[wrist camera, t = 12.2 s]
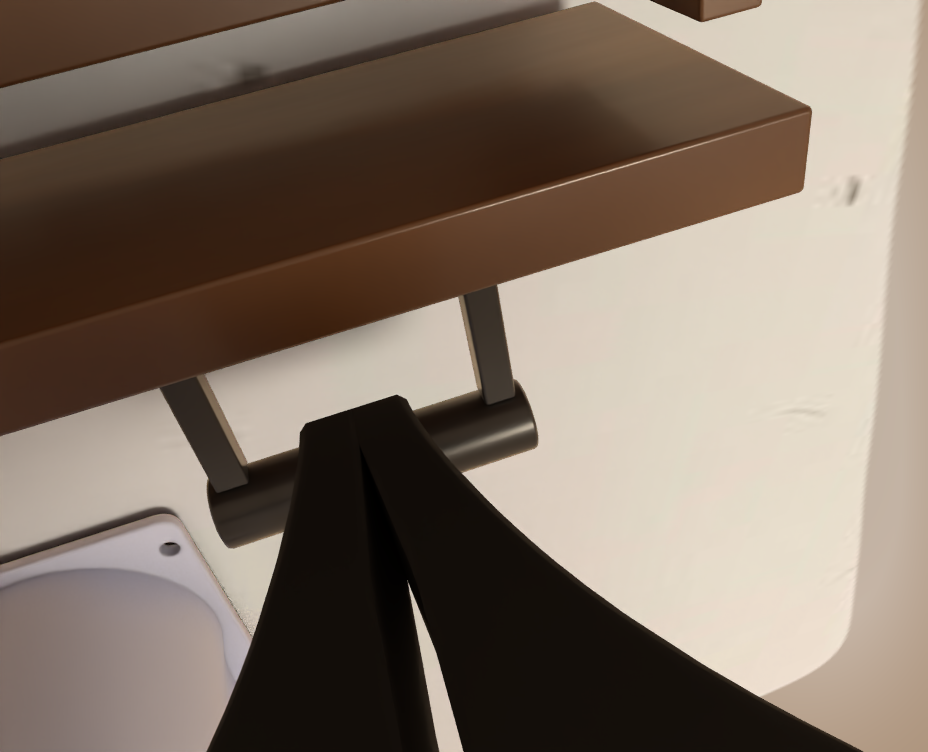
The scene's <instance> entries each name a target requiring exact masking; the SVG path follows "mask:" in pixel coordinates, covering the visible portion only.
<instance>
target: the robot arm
mask: <svg viewBox="0 0 928 752" xmlns="http://www.w3.org/2000/svg"><path fill="white" fill-rule="evenodd" d="M168 542H174V543H176V544H174V545H165V544H164V543H168ZM407 580H408V581H407ZM408 583H409V585H410V588H411V590H412V593H413V595H414V598H415V600H416V603H417V605H418V608H419V610H420V613H421V615H422V618H423V620H424V623H425V625H426V628H427V630H428V633H429V635H430V638H431V640H432V643H433V645H434V648H435V650H436V653H437V657H438V660H439V664H440V668H441V671H442V675H443V678H444V682H445V686H446V689H447V693H448V697H449V700H450V704H451V707H452V711H453V715H454V718H455V722H456V726H457V729H458V733H459V737H460V740H461V744H462V748H463V751H464V752H863V751H861V750H859V749H857V748H855V747H853V746H852V745H850V744H848V743H846V742H844V741H842V740H840V739H838V738H836V737H834V736H832V735H830V734H828V733H826V732H824V731H822V730H820V729H818V728H816V727H814V726H812V725H810V724H808V723H806V722H805V721H802V720H801V719H799V718H797V717H795V716H793V715H792V714H790V713H788V712H786V711H784V710H782V709H780V708H779V707H777V706H775V705H773V704H771V703H769V702H767V701H765V700H764V699H762V698H760V697H758V696H756V695H755V694H753V693H751V692H750V691H748V690H746V689H744V688H743V687H741V686H739V685H738V684H736V683H734V682H732V681H731V680H729V679H727V678H725V677H724V676H722V675H720V674H719V673H717V672H715V671H713V670H712V669H710V668H708V667H707V666H705V665H703V664H701V663H700V662H698V661H697V660H695V659H694V658H692V657H691V656H689V655H688V654H686V653H684V652H683V651H681V650H680V649H678V648H677V647H675V646H674V645H672V644H671V643H669V642H667V641H666V640H664V639H663V638H661V637H660V636H658V635H657V634H655V633H654V632H652V631H650V630H649V629H647V628H646V627H644V626H643V625H641V624H640V623H638V622H636V621H635V620H633V619H632V618H630V617H629V616H627V615H626V614H624V613H623V612H622V611H620V610H619V609H617V608H616V607H615V606H613V605H612V604H611V603H609V602H608V601H606V600H605V599H604V598H602V597H601V596H600V595H598V594H597V593H596V592H594V591H593V590H591V589H590V588H589V587H587V586H586V585H585V584H583V583H582V582H581V581H580V580H578V579H577V578H576V577H574V576H573V575H572V574H571V573H569V572H568V571H567V570H566V569H564V568H563V567H562V566H560V565H559V564H558V563H557V562H555V561H554V560H553V559H552V558H551V557H549V556H548V555H547V554H546V553H545V552H543V551H542V550H541V549H540V548H539V547H538V546H536V545H535V544H534V543H533V542H532V541H531V540H530V539H528V538H527V537H526V536H525V535H524V534H523V533H522V532H521V531H520V530H518V529H517V528H516V527H515V526H514V525H513V524H512V523H511V522H510V521H509V520H508V519H506V518H505V517H504V516H503V515H502V514H501V513H500V512H499V511H498V510H497V509H496V508H495V507H494V506H493V505H492V504H491V503H490V502H489V501H488V500H487V499H486V498H485V497H484V496H483V495H482V494H481V493H480V492H479V491H478V490H477V489H476V488H475V487H474V486H473V485H472V484H471V483H470V481H469V480H468V479H467V478H466V477H465V476H464V475H463V474H462V473H461V472H460V471H459V470H458V469H457V468H456V467H455V465H454V464H453V463H452V462H451V461H450V460H449V459H448V457H447V456H446V455H445V454H444V453H443V451H442V450H441V449H440V448H439V446H438V445H437V444H436V443H435V442H434V440H433V439H432V438H431V437H430V435H429V434H428V433H427V431H426V430H425V429H424V427H423V426H422V424H421V423H420V421H419V420H418V418H417V417H416V415H415V414H414V412H413V410H412V409H411V407H410V405H409V403H408V401H407V399H405V398H403V397H401V396H398V395H394V396H391V397H388V398H385V399H381V400H378V401H375V402H372V403H369V404H366V405H362V406H359V407H356V408H353V409H350V410H347V411H343V412H340V413H337V414H334V415H331V416H328V417H324V418H321V419H318V420H315V421H312V422H309V423H306V424H305V426H304V427H303V429H302V430H301V432H300V443H299V454H298V462H297V469H296V476H295V482H294V487H293V492H292V498H291V503H290V508H289V512H288V517H287V521H286V525H285V529H284V533H283V538H282V542H281V546H280V550H279V554H278V558H277V562H276V565H275V569H274V572H273V576H272V579H271V582H270V585H269V589H268V592H267V595H266V598H265V602H264V605H263V608H262V611H261V615H260V618H259V621H258V624H257V627H256V630H255V633H254V636H253V639H252V637H251V635H250V634H249V632H248V630H247V629H246V627H245V625H244V624H243V622H242V621H241V619H240V617H239V616H238V614H237V612H236V611H235V609H234V607H233V606H232V604H231V602H230V601H229V599H228V597H227V596H226V594H225V593H224V591H223V589H222V588H221V586H220V584H219V583H218V581H217V579H216V578H215V576H214V574H213V573H212V571H211V569H210V568H209V566H208V565H207V563H206V561H205V560H204V558H203V556H202V555H201V553H200V551H199V550H198V548H197V546H196V545H195V543H194V542H193V540H192V538H191V537H190V535H189V533H188V532H187V530H186V528H185V527H184V525H183V523H182V522H181V521H180V520H179V519H178V518H177V517H176V516H173V515H171V514H157V515H153V516H150V517H147V518H144V519H141V520H138V521H135V522H131V523H128V524H125V525H122V526H119V527H116V528H113V529H110V530H107V531H104V532H101V533H97V534H94V535H91V536H88V537H85V538H82V539H79V540H76V541H73V542H70V543H67V544H63V545H60V546H57V547H54V548H51V549H48V550H45V551H42V552H39V553H36V554H33V555H29V556H26V557H23V558H20V559H17V560H14V561H11V562H8V563H5V564H2V565H0V752H439V748H438V744H437V739H436V734H435V729H434V723H433V718H432V712H431V707H430V701H429V696H428V690H427V685H426V679H425V674H424V668H423V663H422V657H421V652H420V646H419V641H418V635H417V630H416V624H415V619H414V614H413V608H412V603H411V597H410V592H409V587H408Z"/></svg>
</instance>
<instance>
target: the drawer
mask: <svg viewBox="0 0 928 752" xmlns="http://www.w3.org/2000/svg"><path fill="white" fill-rule="evenodd" d="M340 1H344V0H0V88H4V87H8V86H12V85H16V84H19V83H23V82H27V81H31V80H35V79H39V78H43V77H47V76H51V75H55V74H59V73H63V72H66V71H70V70H74V69H78V68H82V67H86V66H90V65H94V64H98V63H102V62H106V61H109V60H113V59H117V58H121V57H125V56H129V55H133V54H137V53H141V52H145V51H149V50H153V49H156V48H160V47H164V46H168V45H172V44H176V43H180V42H184V41H188V40H192V39H196V38H200V37H203V36H207V35H211V34H215V33H219V32H223V31H227V30H231V29H235V28H239V27H243V26H246V25H250V24H254V23H258V22H262V21H266V20H270V19H274V18H278V17H282V16H286V15H290V14H293V13H297V12H301V11H305V10H309V9H313V8H317V7H321V6H325V5H329V4H333V3H337V2H340ZM650 1H653V2H655V3H657V4H660V5H662V6H664V7H667V8H669V9H671V10H674V11H676V12H678V13H681V14H683V15H685V16H688V17H690V18H692V19H695V20H697V21H699V22H705V21H709V20H712V19H716V18H720V17H723V16H727V15H731V14H734V13H738V12H742V11H745V10H749V9H753V8H756V7H759V6H760V5H761V3H762V0H650ZM811 116H812V110H811V108H810V106H808V105H806V104H804V103H802V102H800V101H798V100H796V99H794V98H791V97H789V96H787V95H785V94H783V93H781V92H779V91H777V90H775V89H773V88H771V87H769V86H767V85H765V84H763V83H761V82H759V81H757V80H755V79H753V78H751V77H749V76H747V75H745V74H743V73H741V72H738V71H736V70H734V69H732V68H730V67H728V66H726V65H724V64H722V63H720V62H718V61H716V60H714V59H712V58H710V57H708V56H706V55H704V54H702V53H700V52H698V51H696V50H694V49H692V48H690V47H688V46H685V45H683V44H681V43H679V42H677V41H675V40H673V39H671V38H669V37H667V36H665V35H663V34H661V33H659V32H657V31H655V30H653V29H651V28H649V27H647V26H645V25H643V24H641V23H639V22H637V21H635V20H632V19H630V18H628V17H626V16H624V15H622V14H620V13H618V12H616V11H614V10H612V9H610V8H608V7H606V6H604V5H602V4H600V3H598V2H591V3H587V4H583V5H580V6H576V7H572V8H568V9H564V10H561V11H557V12H553V13H549V14H546V15H542V16H538V17H534V18H531V19H527V20H523V21H519V22H516V23H512V24H508V25H504V26H500V27H497V28H493V29H489V30H485V31H482V32H478V33H474V34H470V35H467V36H463V37H459V38H455V39H452V40H448V41H444V42H440V43H436V44H433V45H429V46H425V47H421V48H418V49H414V50H410V51H406V52H403V53H399V54H395V55H391V56H388V57H384V58H380V59H376V60H372V61H369V62H365V63H361V64H357V65H354V66H350V67H346V68H342V69H339V70H335V71H331V72H327V73H324V74H320V75H316V76H312V77H308V78H305V79H301V80H297V81H293V82H290V83H286V84H282V85H278V86H275V87H271V88H267V89H263V90H260V91H256V92H252V93H248V94H244V95H241V96H237V97H233V98H229V99H226V100H222V101H218V102H214V103H211V104H207V105H203V106H199V107H196V108H192V109H188V110H184V111H180V112H177V113H173V114H169V115H165V116H162V117H158V118H154V119H150V120H147V121H143V122H139V123H135V124H132V125H128V126H124V127H120V128H116V129H113V130H109V131H105V132H101V133H98V134H94V135H90V136H86V137H83V138H79V139H75V140H71V141H68V142H64V143H60V144H56V145H52V146H49V147H45V148H41V149H37V150H34V151H30V152H26V153H22V154H19V155H15V156H11V157H7V158H4V159H0V436H2V435H6V434H9V433H12V432H16V431H19V430H22V429H25V428H29V427H32V426H35V425H39V424H42V423H45V422H48V421H52V420H55V419H58V418H61V417H65V416H68V415H71V414H75V413H78V412H81V411H84V410H88V409H91V408H94V407H97V406H101V405H104V404H107V403H111V402H114V401H117V400H120V399H124V398H127V397H130V396H134V395H137V394H140V393H143V392H147V391H150V390H153V389H156V388H160V390H161V392H162V394H163V396H164V398H165V399H166V401H167V403H168V405H169V407H170V409H171V410H172V412H173V414H174V416H175V418H176V420H177V421H178V423H179V425H180V427H181V429H182V431H183V432H184V434H185V436H186V438H187V440H188V442H189V443H190V445H191V447H192V449H193V451H194V453H195V454H196V456H197V458H198V460H199V462H200V464H201V465H202V467H203V469H204V471H205V473H206V475H207V476H208V480H207V498H208V504H209V508H210V512H211V516H212V519H213V522H214V525H215V527H216V530H217V532H218V534H219V536H220V538H221V539H222V541H223V542H224V544H225V545H226V546H227V547H228V548H237V547H240V546H243V545H246V544H249V543H252V542H255V541H258V540H261V539H264V538H267V537H270V536H273V535H276V534H279V533H282V532H284V529H285V525H286V521H287V517H288V512H289V508H290V503H291V498H292V492H293V487H294V482H295V476H296V469H297V462H298V454H299V447H298V448H295V449H292V450H289V451H286V452H283V453H279V454H276V455H273V456H270V457H267V458H264V459H261V460H258V461H255V462H251V463H248V464H247V460H246V458H245V456H244V454H243V452H242V450H241V448H240V446H239V444H238V442H237V440H236V438H235V436H234V434H233V432H232V430H231V428H230V426H229V424H228V421H227V419H226V417H225V415H224V413H223V411H222V409H221V407H220V405H219V403H218V401H217V399H216V397H215V395H214V393H213V391H212V389H211V387H210V385H209V383H208V381H207V379H206V377H205V375H204V374H206V373H209V372H212V371H215V370H219V369H222V368H225V367H229V366H232V365H235V364H238V363H242V362H245V361H248V360H252V359H255V358H258V357H261V356H265V355H268V354H271V353H274V352H278V351H281V350H284V349H288V348H291V347H294V346H297V345H301V344H304V343H307V342H310V341H314V340H317V339H320V338H324V337H327V336H330V335H333V334H337V333H340V332H343V331H347V330H350V329H353V328H356V327H360V326H363V325H366V324H369V323H373V322H376V321H379V320H383V319H386V318H389V317H392V316H396V315H399V314H402V313H406V312H409V311H412V310H415V309H419V308H422V307H425V306H428V305H432V304H435V303H438V302H442V301H445V300H448V299H451V298H455V297H458V298H459V302H460V307H461V312H462V317H463V322H464V326H465V331H466V336H467V341H468V345H469V350H470V355H471V360H472V365H473V369H474V374H475V379H476V384H477V388H478V390H476V391H473V392H470V393H467V394H464V395H460V396H457V397H454V398H451V399H448V400H445V401H442V402H439V403H436V404H432V405H429V406H426V407H423V408H420V409H417V410H414V411H413V412H414V414H415V415H416V417H417V418H418V420H419V421H420V423H421V424H422V426H423V427H424V429H425V430H426V431H427V433H428V434H429V435H430V437H431V438H432V439H433V440H434V442H435V443H436V444H437V445H438V446H439V448H440V449H441V450H442V451H443V453H444V454H445V455H446V456H447V457H448V459H449V460H450V461H451V462H452V463H453V464H454V465H455V467H456V468H457V469H458V470H459V471H460V472H461V473H463V472H466V471H469V470H472V469H475V468H478V467H481V466H484V465H487V464H490V463H493V462H496V461H499V460H502V459H505V458H508V457H511V456H514V455H517V454H520V453H523V452H526V451H529V450H532V449H535V448H536V447H537V446H538V432H537V426H536V422H535V419H534V415H533V412H532V409H531V406H530V404H529V401H528V398H527V396H526V394H525V392H524V390H523V388H522V386H521V385H520V384H519V382H518V381H517V380H515V379H513V375H512V369H511V364H510V358H509V352H508V346H507V340H506V334H505V328H504V322H503V316H502V311H501V305H500V299H499V293H498V287H497V284H501V283H504V282H507V281H510V280H514V279H517V278H520V277H523V276H527V275H530V274H533V273H537V272H540V271H543V270H546V269H550V268H553V267H556V266H560V265H563V264H566V263H569V262H573V261H576V260H579V259H582V258H586V257H589V256H592V255H596V254H599V253H602V252H605V251H609V250H612V249H615V248H619V247H622V246H625V245H628V244H632V243H635V242H638V241H641V240H645V239H648V238H651V237H655V236H658V235H661V234H664V233H668V232H671V231H674V230H678V229H681V228H684V227H687V226H691V225H694V224H697V223H700V222H704V221H707V220H710V219H714V218H717V217H720V216H723V215H727V214H730V213H733V212H736V211H740V210H743V209H746V208H750V207H753V206H756V205H759V204H763V203H766V202H769V201H773V200H776V199H779V198H782V197H786V196H789V195H792V194H795V193H799V192H801V191H802V190H803V187H804V179H805V170H806V161H807V152H808V143H809V134H810V125H811Z"/></svg>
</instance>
